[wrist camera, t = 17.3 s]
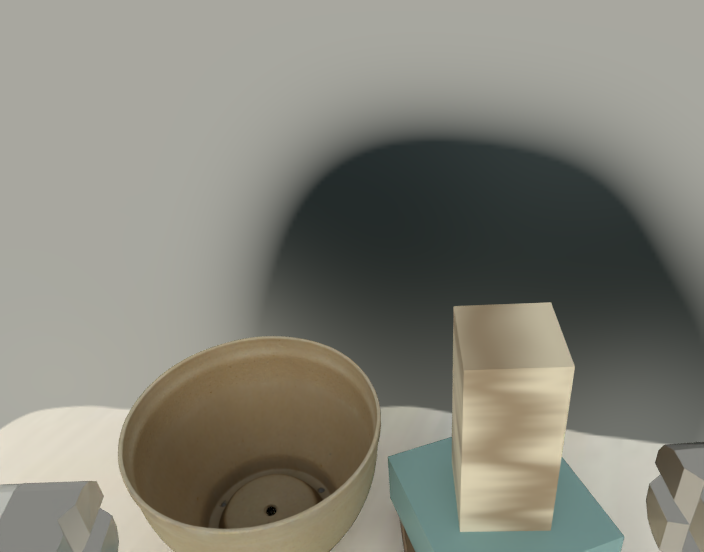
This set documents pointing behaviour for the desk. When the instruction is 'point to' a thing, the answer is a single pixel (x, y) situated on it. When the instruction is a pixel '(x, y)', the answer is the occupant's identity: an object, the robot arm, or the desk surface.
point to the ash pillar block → (508, 415)
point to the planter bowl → (253, 447)
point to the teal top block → (496, 546)
